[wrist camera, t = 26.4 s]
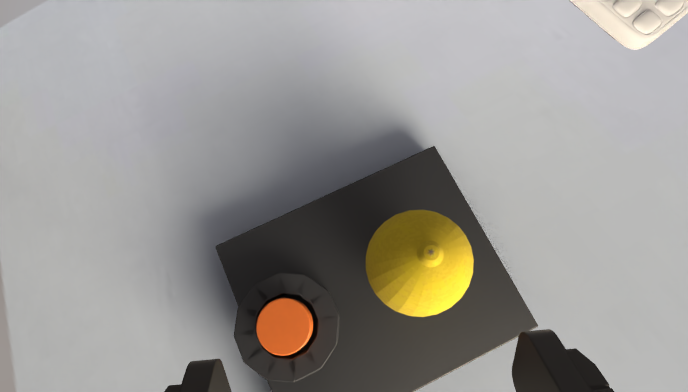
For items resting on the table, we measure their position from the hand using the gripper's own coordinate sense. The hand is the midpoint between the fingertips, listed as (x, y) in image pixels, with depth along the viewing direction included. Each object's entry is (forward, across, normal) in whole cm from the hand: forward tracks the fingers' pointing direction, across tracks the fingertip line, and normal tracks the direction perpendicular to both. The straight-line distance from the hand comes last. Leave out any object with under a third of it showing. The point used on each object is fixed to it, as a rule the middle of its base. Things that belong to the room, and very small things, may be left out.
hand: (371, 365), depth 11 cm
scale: (+13, -1, +9) cm, 16 cm away
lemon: (+13, -4, +8) cm, 15 cm away
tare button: (+10, +4, +9) cm, 14 cm away
